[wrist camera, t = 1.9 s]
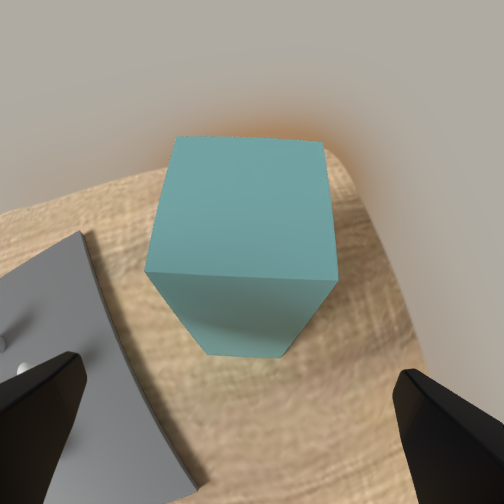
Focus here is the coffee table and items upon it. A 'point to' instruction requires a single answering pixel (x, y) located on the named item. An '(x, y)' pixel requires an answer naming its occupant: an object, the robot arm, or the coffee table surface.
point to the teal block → (244, 241)
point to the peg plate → (88, 383)
